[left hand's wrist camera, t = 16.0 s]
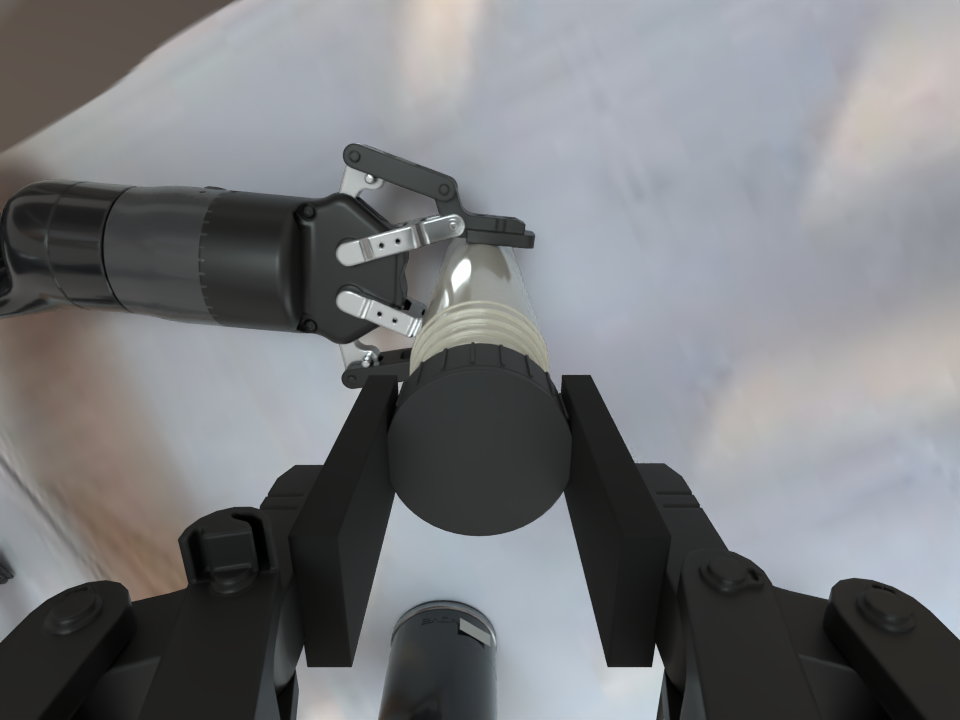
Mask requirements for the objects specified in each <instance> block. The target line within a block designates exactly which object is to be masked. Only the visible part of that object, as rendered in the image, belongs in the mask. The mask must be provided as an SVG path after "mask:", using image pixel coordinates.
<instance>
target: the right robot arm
mask: <svg viewBox="0 0 960 720" xmlns="http://www.w3.org/2000/svg"><path fill="white" fill-rule="evenodd" d="M343 159H344V162H345V163H346V167H345V171H344V175H343V178H342V182H341V186H340V190H339V192H338V193H334V194H331V195H330V196H328V197H325V198H321V199H315V198H304V197H293V196H283V195H272V194H262V193H252V192H241V191H231V190H230V191H229V190H226V189H223V188H219V187H210V186H208V187H204V188H199V187H187V186H163V187H136V186H127V185H117V184H106V183H96V182H86V181H73V180H41V181H36V182H33V183H30V184H28V185H25V186H23V187H22V188H20V189H19V190H18V191H17V192H15V193H14V194H13V195H12V196H11V197H10V199H9V200H8V202H7V204H6V205H5V208H4V210H3V213H2V215H1V213H0V319H5V318H11V317H17V316H24V315H30V314H38V313H44V312H50V311H56V310H64V309H72V308H77V309H85V310H96V311H107V312H119V313H130V314H140V315H148V316H153V317H158V318H162V319H166V320H171V321H176V322H183V323H192V324H203V325H215V326H226V327H238V328H249V329H260V330H271V331H283V332H294V333H314V334H318V335H321V336H323V337H325V338H327V339H329V340H330V341H332V342H334V343H337V344H339V346H340V350H341V354H342V357H343V361H344V365H345V372H344V373H343V375H342V382H343V384H344V385H345V386H346V387H347V388H350V389H356V388H362V387H363V386H364V384H365V382H366V380H367V378H368V376H369V375H397V378H398V382H403V381H404V380H405V381H407V380H408V378H409V377H410V357H411V351H412V348H406V349H399V350H393V351H386V352H380V351H379V349H378V348H377V347H375V346H373V345H364V344H362V343H361V342H360V341H359V340H358V339H359V338H360V337H362V336H364V335H365V334H367V333H369V332H370V331H372V330H374V329H376V328H377V327H379V326H382V327H385V328H387V329H389V330H392V331H394V332H396V333H399V334H401V335H403V336H406V337H415V338H416V336H417V333H418V330H419V327H420V324H421V322H422V319H423V316H424V313H425V310H426V308H427V307H426V306H425V305H424V304H422V303H421V302H419V301H416V300H414V299H412V298H410V297H407V282H406V277H405V268H406V265H407V262H408V259H409V250H412V249H416V248H420V247H422V246H425V245H427V244H431V243H435V242H439V241H443V240H447V239H451V238H454V237H458V238H466V243H474V244H486V245H495V246H506V247H517V248H534V240H535V234H534V233H533V232H532V231H526V230H525V224H524V222H523V221H521V220H519V219H517V218H515V217H506V216H495V215H484V214H474V213H470V212H468V211H466V210H465V209H464V208H463V206H462V204H461V201H460V197H459V193H458V190H457V188H458V187H457V183H456V181H455V179H454V178H452V177H450V176H448V175H445V174H442V173H440V172H437V171H434V170H432V169H429V168H426V167H424V166H421V165H418V164H416V163H413V162H410V161H408V160H405V159H402V158H400V157H397V156H394V155H392V154H389V153H386V152H384V151H381V150H378V149H376V148H373V147H370V146H368V145H363V144H350V145H348V146H347V147H346V148H345V149H344V152H343ZM386 181H388V182H390V183H393V184H396V185H399V186H401V187H404V188H407V189H409V190H412V191H415V192H418V193H420V194H423V195H426V196H428V197H431V198H434V199H435V201H436V204H437V208H438V211H439V214H436V215H432V216H428V217H424V218H418V219H414V220H410V221H407V222H403V223H399V224H395V225H391V224H390V223H389V222H388V221H387V220H386V219H384V218H383V217H382V216H381V215H380V214H379V213H377V212H376V211H375V210H374V209H373V208H372V207H370V206H369V205H368V204H367V203H366V202H365V201H363V200H362V199H361V198H360V197H359V195H360V193H361V192H362V191H363V190H365V189H368V190H377V189H380V188H382V187H383V186H384V184H385V182H386ZM402 306H404V307H402ZM394 318H395V319H396V320H394ZM378 720H497V692H496V635H495V632H494V629H493V627H492V625H491V624H490V622H489V621H488V620H487V619H486V618H485V617H484V616H483V615H482V614H481V613H479V612H478V611H476V610H475V609H473V608H471V607H468V606H466V605H463V604H459V603H454V602H432V603H427V604H423V605H420V606H418V607H416V608H413V609H412V610H410V611H409V612H407V613H406V614H405V615H404V616H402V617H401V619H400V620H399V621H398V622H397V624H396V626H395V628H394V631H393V634H392V640H391V652H390V657H389V663H388V668H387V673H386V678H385V684H384V689H383V695H382V701H381V706H380V712H379V717H378Z"/></svg>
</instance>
